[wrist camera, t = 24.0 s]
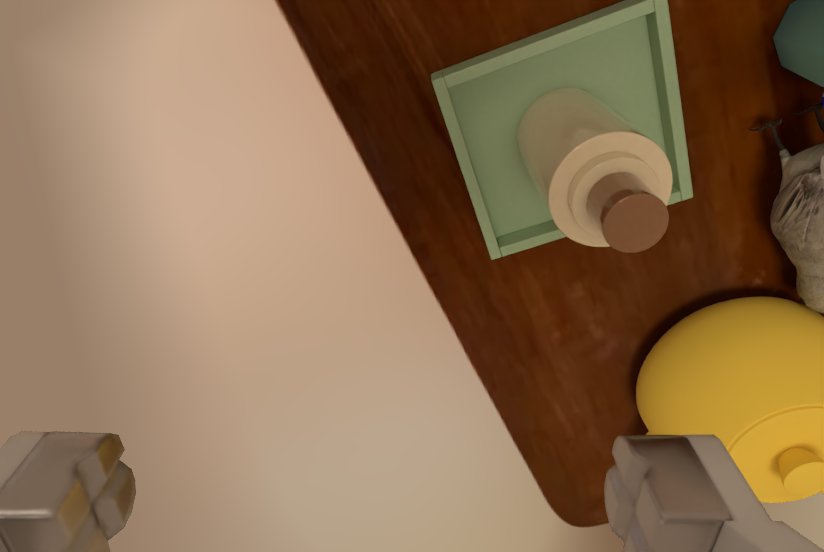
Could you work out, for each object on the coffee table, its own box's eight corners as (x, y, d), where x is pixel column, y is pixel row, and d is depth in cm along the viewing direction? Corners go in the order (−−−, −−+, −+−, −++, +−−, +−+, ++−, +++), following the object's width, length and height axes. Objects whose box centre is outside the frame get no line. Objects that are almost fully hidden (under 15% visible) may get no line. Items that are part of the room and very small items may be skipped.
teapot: (745, 246, 44) (855, 344, 33) (877, 365, 50) (1009, 483, 39) (560, 400, 52) (599, 520, 41) (692, 487, 58) (758, 615, 46)
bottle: (529, 190, 41) (581, 299, 28) (506, 106, 38) (551, 185, 25) (617, 161, 40) (714, 261, 27) (600, 72, 37) (699, 136, 24)
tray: (487, 245, 44) (491, 260, 42) (430, 73, 38) (431, 81, 36) (678, 184, 42) (693, 197, 39) (651, -10, 35) (667, -8, 33)
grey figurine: (766, 298, 46) (823, 353, 40) (738, 116, 39) (801, 147, 33) (837, 275, 45) (907, 328, 39) (821, 83, 38) (904, 109, 32)
